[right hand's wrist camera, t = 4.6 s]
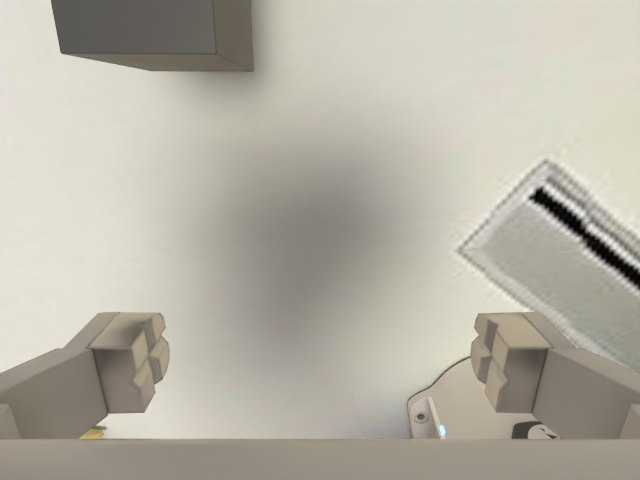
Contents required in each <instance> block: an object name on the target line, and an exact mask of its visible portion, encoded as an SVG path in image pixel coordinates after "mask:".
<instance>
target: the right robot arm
mask: <svg viewBox="0 0 640 480" xmlns="http://www.w3.org/2000/svg"><path fill="white" fill-rule="evenodd" d="M165 328H166V327H165V322H164V317H163V316H162V315H161V313H138V312H122V313H121V312H102V313H98V314H97V315H96V316H95V317H94V318H93V319H92V320H91V321H90V322H89V323H88V324H87V325H86V326H85V327H84V328H83V329H82V330H81V331H80V332H79V333H78V334H77V335H76V336H75V337H74V338H73V339H72V340H71V341H70V342H69V343H68V344H67V345H66V346H65V347H64V348H63V349H54V350H52V351H50V352H48V353H45V354H43V355H41V356H38V357H36V358H34V359H32V360H29V361H27V362H25V363H23V364H20V365H18V366H16V367H14V368H11V369H9V370H7V371H5V372H2V373H0V480H640V373H637V372H635V371H633V370H631V369H628V368H626V367H624V366H622V365H619V364H617V363H615V362H613V361H610V360H608V359H606V358H604V357H601V356H599V355H597V354H595V353H592V352H590V351H588V350H586V349H577V348H576V347H575V346H574V345H573V344H572V343H571V342H570V341H569V340H568V339H567V338H566V337H565V336H564V335H563V334H562V333H561V332H560V331H559V330H558V329H557V328H556V327H555V326H554V325H553V324H552V323H551V322H550V321H549V320H548V319H547V318H546V317H545V316H544V315H543V314H542V313H539V312H518V313H481V314H478V316H477V318H476V321H475V326H474V328H475V330H476V331H477V333H478V335H479V336H478V337H477V338H476V339H475V340H474V341H473V342H472V345H471V353H470V354H471V358H469V359H466V360H464V361H462V362H460V363H458V364H456V365H455V366H453V367H452V368H450V369H449V370H448V371H447V372H445V373H444V374H443V375H442V376H441V377H440V378H439V379H438V381H437V382H436V383H435V384H434V385H433V386H431V387H430V388H428V389H426V390H424V391H422V392H420V393H418V394H416V395H415V396H413V397H412V398H411V399H410V400H409V401H408V413H409V420H410V427H411V433H412V439H78V438H80V437H81V436H82V435H84V434H85V433H86V432H87V431H89V430H90V429H91V428H93V427H94V426H95V425H96V424H98V423H99V422H100V421H101V420H103V419H104V418H105V417H107V416H108V414H112V413H144V412H145V410H146V409H147V407H148V405H149V403H150V401H151V399H152V398H153V396H154V394H155V387H154V385H155V384H156V383H158V382H159V381H161V380H162V379H163V377H164V375H165V373H166V371H167V368H168V363H169V345H168V342H167V341H166V340H165V339H164V338H163V337H162V336H161V335H162V333H163V331H164V330H165ZM419 414H421V415H419Z"/></svg>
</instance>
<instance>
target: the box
mask: <svg viewBox="0 0 640 480" xmlns="http://www.w3.org/2000/svg"><path fill="white" fill-rule="evenodd" d="M51 3H52V9H53V14H54V19H55V25H56V30H57V35H58V40H59V46H60V51H61V53H62V54H66V55H71V56H76V57H81V58H87V59H92V60H97V61H102V62H107V63H113V64H118V65H123V66H128V67H133V68H139V69H144V70H149V71H226V72H253V71H254V69H253V47H252V25H251V2H250V0H51Z"/></svg>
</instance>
